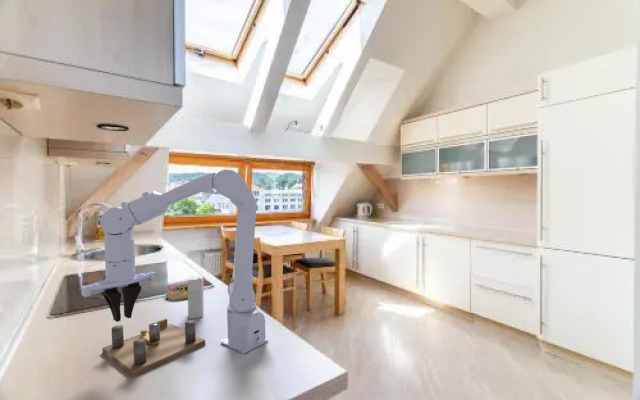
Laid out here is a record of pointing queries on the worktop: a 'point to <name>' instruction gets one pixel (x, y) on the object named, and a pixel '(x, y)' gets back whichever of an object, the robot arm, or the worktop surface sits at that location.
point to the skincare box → (195, 296)
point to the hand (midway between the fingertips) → (122, 318)
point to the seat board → (151, 347)
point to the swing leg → (152, 334)
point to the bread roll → (178, 293)
